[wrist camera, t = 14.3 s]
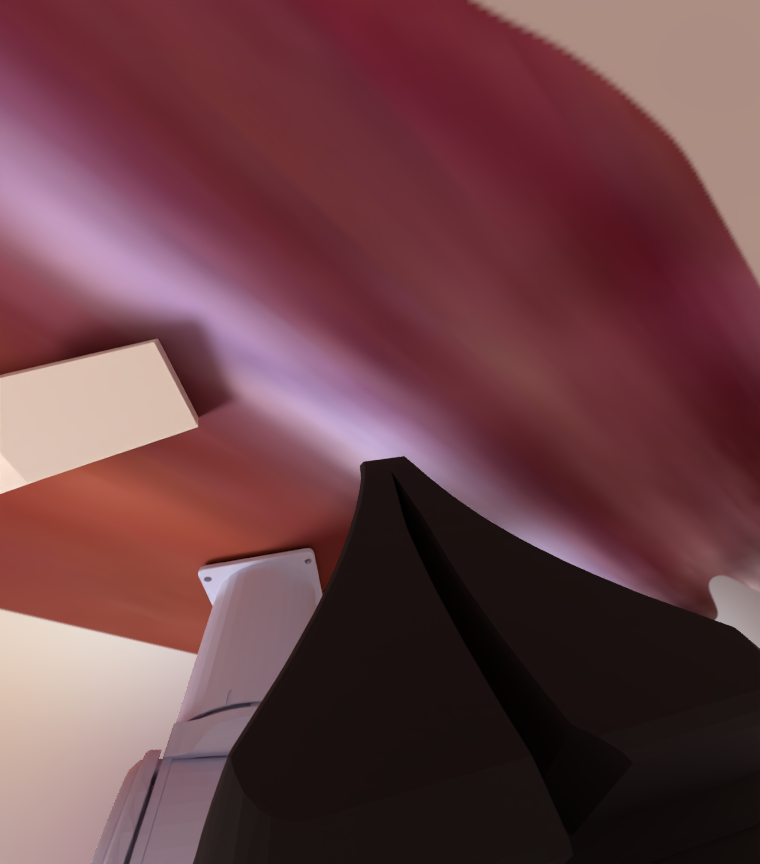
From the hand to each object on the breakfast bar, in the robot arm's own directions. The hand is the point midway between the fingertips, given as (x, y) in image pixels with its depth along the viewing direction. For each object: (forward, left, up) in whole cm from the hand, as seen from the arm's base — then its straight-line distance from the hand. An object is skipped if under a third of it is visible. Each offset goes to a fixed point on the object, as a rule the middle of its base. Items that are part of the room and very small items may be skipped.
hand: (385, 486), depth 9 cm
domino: (+1, +9, -9) cm, 13 cm away
